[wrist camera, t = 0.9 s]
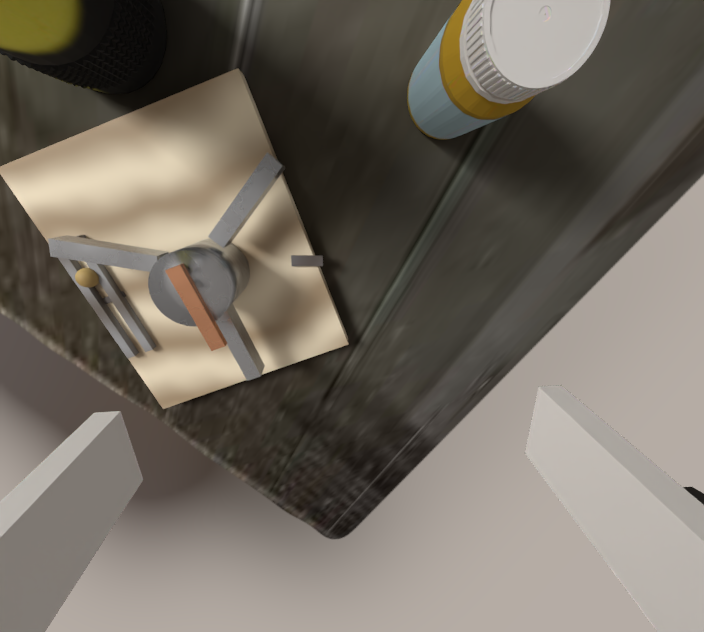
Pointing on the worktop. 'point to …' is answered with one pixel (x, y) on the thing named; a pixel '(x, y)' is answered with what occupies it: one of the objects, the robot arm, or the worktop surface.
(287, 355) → the stand
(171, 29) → the worktop surface
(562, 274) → the worktop surface
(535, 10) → the bottle
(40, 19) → the container
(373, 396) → the worktop surface
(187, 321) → the capstan
